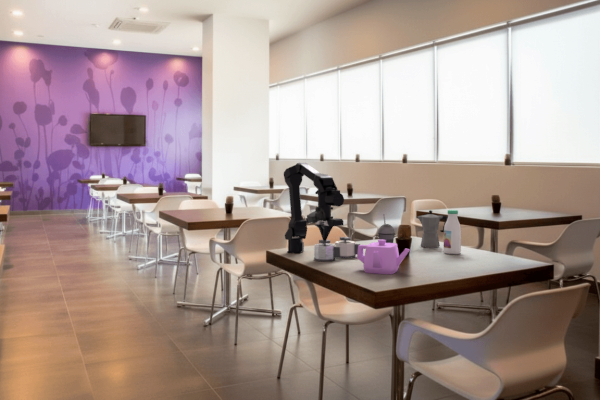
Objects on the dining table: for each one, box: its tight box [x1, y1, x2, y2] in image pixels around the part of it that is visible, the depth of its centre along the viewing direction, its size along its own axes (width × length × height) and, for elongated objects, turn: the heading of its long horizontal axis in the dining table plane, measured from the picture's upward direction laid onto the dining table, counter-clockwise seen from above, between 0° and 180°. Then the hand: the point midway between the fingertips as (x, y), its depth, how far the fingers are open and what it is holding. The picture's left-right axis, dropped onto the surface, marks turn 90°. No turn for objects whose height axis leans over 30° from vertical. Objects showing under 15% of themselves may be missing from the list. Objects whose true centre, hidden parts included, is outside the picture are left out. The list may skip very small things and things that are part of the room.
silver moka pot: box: [313, 243, 341, 262], centre depth 250 cm, size 12×9×6 cm
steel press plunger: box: [318, 239, 331, 245], centre depth 250 cm, size 5×5×6 cm
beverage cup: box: [377, 213, 396, 243], centre depth 249 cm, size 7×7×20 cm
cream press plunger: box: [339, 236, 352, 243], centre depth 258 cm, size 5×5×6 cm
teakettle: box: [356, 239, 411, 275], centre depth 226 cm, size 17×17×12 cm
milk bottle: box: [443, 209, 462, 255], centre depth 264 cm, size 8×8×20 cm
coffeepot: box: [416, 210, 448, 249], centre depth 283 cm, size 15×9×18 cm, turn 70°
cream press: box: [334, 240, 361, 259], centre depth 257 cm, size 12×9×6 cm
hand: (324, 240), depth 250 cm, fingers closed, pressing on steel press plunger
